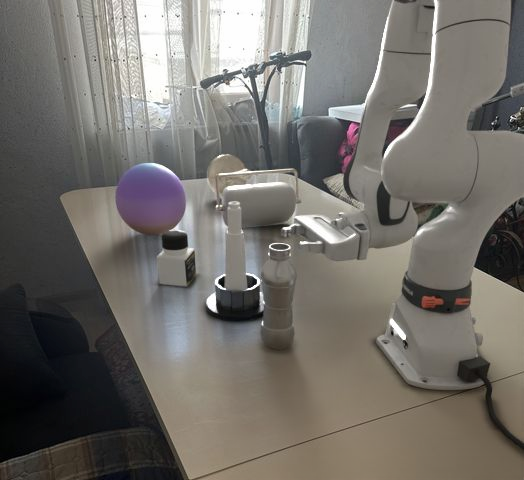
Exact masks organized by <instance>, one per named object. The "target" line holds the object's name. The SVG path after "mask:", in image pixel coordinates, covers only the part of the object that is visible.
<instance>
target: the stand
mask: <svg viewBox="0 0 524 480" xmlns="http://www.w3.org/2000/svg"><path fill="white" fill-rule="evenodd" d="M246 277H247V287H248V289H245V290H229V289H225V288H224V285H225V273H224V274H222V275H220V276H219V277H217V278H215V281H214V291H215V292H213V293H211V294H210V295H209V296H208V297H207V299H206V301H205V302H206V303H205V304H206V305H205V306H206V307H205V308H206V311H207V312H208V313H209V315H211V317H214V318H216V319H219V320H222V321H226V322H238V323H239V322H248V321H249V322H250V321H253V320H256V319H259V318H261V317H263V311H264V300H263V292H261V278H259V277H257V276H256V275H255V274H251V273H247V272H246Z"/></svg>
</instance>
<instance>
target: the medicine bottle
mask: <svg viewBox="0 0 524 480" xmlns="http://www.w3.org/2000/svg"><path fill="white" fill-rule="evenodd" d="M160 238H161V239H160V240H161V248H162V251H161V252H160V253H159V254H158V255H157V256H156V267H157V275H158V283H159V285H164V286H165V285H166V286H175V287H186V288H187V287H188V286H189V285H190V284H191V282H192V281H193V280H194V278H195V277H196V276H197V267H196V253H195V248H193V247H192V248H191V247H189V237H188V233H187V232H186V231H184V230H181V229H172V230H169V231H166V232H164V233H163V234H161V235H160Z"/></svg>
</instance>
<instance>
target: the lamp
mask: <svg viewBox="0 0 524 480" xmlns="http://www.w3.org/2000/svg"><path fill="white" fill-rule="evenodd" d="M285 173H293V174H294V186H295V187H293V186H292V185H291V184H289V183H287V182H284V181H282V182H281V181H280V182H279V181H275V182H263V183H262V182H261V183H251V184H247V181H248V180H250V179H251V178H252V177H253V176H259V175H270V174H285ZM206 181H207V184H208V186H209V188H210V190H211V191H212V192H213V193H214V194H215V195H216V206H215V212H217V213H218V212H221V213H222V219H223V223H224V225H225V226H226V227H227V228H228V217H227V209H228V207H229V202H239V203H240V206H239V207H240V208H241V228H252V227H260V226H270V225H278V224H279V225H280V224H284V223H286V222H288V221H289V220H290V219H291V218H292V216H293V215H294V213H295V212H296V207H297V205H298V204H301V203H302V198H300V195H299V176H298V170H297V169H295V168H283V169H282V168H281V169H272V170H254V171H251V170H250V169H249V168H246V166H245V164H244V163H243V161H241V159H240V158H239V157H237V156H235V155H233V154H221V155H219V156H217V157H215V158H214V159H213V160H211V162H210V163H209V165H208V167H207V169H206ZM220 197H221V198H220Z"/></svg>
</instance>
